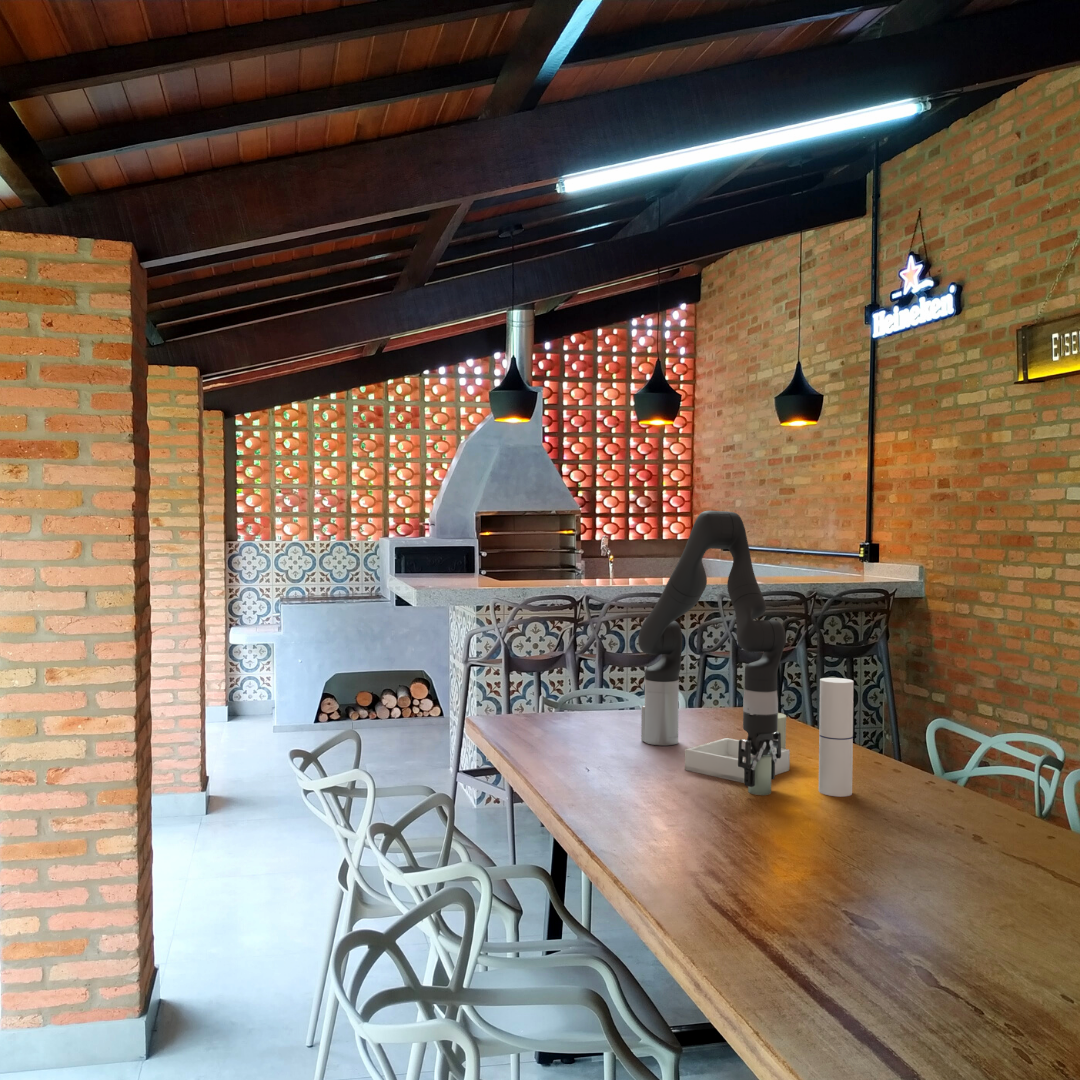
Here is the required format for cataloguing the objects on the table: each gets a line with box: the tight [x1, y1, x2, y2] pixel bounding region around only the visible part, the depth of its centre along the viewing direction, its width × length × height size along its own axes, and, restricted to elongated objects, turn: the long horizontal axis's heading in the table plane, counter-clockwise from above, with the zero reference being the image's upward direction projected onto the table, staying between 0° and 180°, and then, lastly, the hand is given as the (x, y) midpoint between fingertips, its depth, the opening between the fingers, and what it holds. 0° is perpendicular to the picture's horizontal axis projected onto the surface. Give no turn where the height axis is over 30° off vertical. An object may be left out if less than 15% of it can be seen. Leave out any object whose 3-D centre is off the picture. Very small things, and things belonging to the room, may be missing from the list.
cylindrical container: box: [818, 677, 854, 798], centre depth 215 cm, size 7×7×25 cm
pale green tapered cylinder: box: [747, 754, 772, 796], centre depth 215 cm, size 5×5×8 cm
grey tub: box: [684, 737, 791, 784], centre depth 234 cm, size 18×18×5 cm
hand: (759, 782), depth 215 cm, fingers open, 8 cm apart
